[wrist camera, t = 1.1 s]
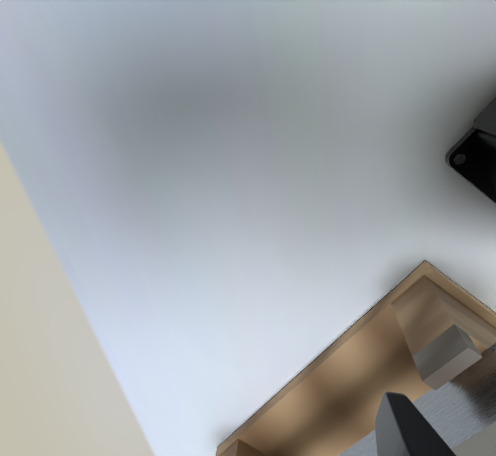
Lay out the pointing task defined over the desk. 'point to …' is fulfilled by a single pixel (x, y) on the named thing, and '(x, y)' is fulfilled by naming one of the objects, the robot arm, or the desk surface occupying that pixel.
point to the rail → (457, 412)
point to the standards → (372, 369)
